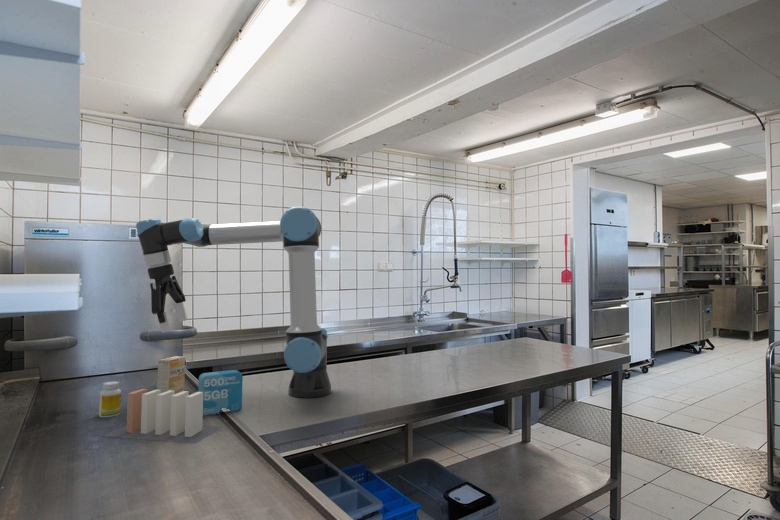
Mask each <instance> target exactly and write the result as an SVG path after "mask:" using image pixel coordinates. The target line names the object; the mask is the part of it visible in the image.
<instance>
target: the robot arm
mask: <svg viewBox="0 0 780 520" xmlns="http://www.w3.org/2000/svg"><path fill="white" fill-rule="evenodd" d="M321 224H322V223H321V221H320V220H319V218H318V216H316V214H315V213H314V212H313V210H312V209H309V208H307V207H305V206H293V207H290V208H288V209H286V211H285V212H284V213H283V214H282V216H281V217H280V220H275V221H273V220H272V221H255V222H253V221H252V222H236V223H235V222H234V223H231V222H230V223H217V224H214V223H213V224H202V222H201V221H200V220H199V219H198V218H195V217H192V218H191V217H190V218H184V219H178V220H173V221H169V222H162V220H161V219H160V218H151V219H150V218H149V219H143V220H139V221H138V222H136V224H135V226H136V227H135V228H136V232H137V237H138V239H139V243H140V247H141V249H142V254H143V260H144V262H145V266H146V267H147V274H148V277H149V279H150V280H154V282H151V283H150V284H149V286H150V295H151V297H150V298H151V300H150V301H151V313H152V315H156V317H157V321H158V323H159V324H158V325H159V327H160V328H159V329H160V331H161V333H168V332H171V331H172V329H171V325H170V322H169V318H168V314H167V311H165V307H166V300H167V299H166V298H167V295H168V296H170V298H171V299H172V300H173V301H174V307H175V310H176V315H177V319H178V323H181V322H183V321H184V322H185V321H188V316H187V312H186V309H185V308H186V307H185V305H184V303H185V302H187V301H186V297H185V295H184V292H183V290H182V288H181V286H180V284H179V283H178V280H177V278H176V275H174V274H175V271H174V267H173V264H172V263H171V262H172V259H171V255H170V251H169V249H168V248H169V247H168V246H172V245H176V244H177V245H178V244H187V245H191V246H195V247H198V248H204V247H208V246H216V245H219V246H220V245H236V244H237V245H239V244H259V243H263V244H264V243H278V242H279V243H280V242H282V243H283V249H284V250H285V251H286V253H287V254H288V279H289V281H288V282H289V283H288V285H289V309H290V310H289V312H290V313H289V314H290V315H289V316H290V326H289V327H288V328H287V329H286V330H285V334H286V335H285V337H286V346H285V347H284V348H285V349H284V351H283V359H284V362H285V364H286V366H287V367H288V369H290V370H291V371H292V372H293V373H292V377H291V380H290V382H289V385H288V395H289V396H292V397H295V398H304V399H305V398H307V399H308V398H310V399H311V398H320V397H323V396H326V395H329V394H331V393H332V383H331V381H330V377H329V374H328V371H327V370H328V369H327V359H328V358H327V356H328V355H327V354H328V350H327V349H328V346H327V345H328V338H329V337H328V336H329V335H328V331H327V329H326V328H322V327H321V326H320V325H318V318H317V314H318V313H317V287H316V286H317V285H316V280H317V279H316V260H315V259H316V258H315V256H316V254H315V253H316V252H317V250H318V249H320V241H319V238H320V236H321V233H322V225H321Z"/></svg>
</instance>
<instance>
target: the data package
mask: <svg viewBox="0 0 780 520" xmlns="http://www.w3.org/2000/svg"><path fill="white" fill-rule="evenodd" d="M243 377H244V375H243V373H242V372H240V371H239V370H237V369H231V370H220V371H212V372H210V371H209V372H203V373H201V374H200V375H199V377H198V386H197V387H198V388H197V389H198V390H197V392H203V415H204V416H209V415H208V414H211V415H217V414H220V413H219V412H220V410H221V409H222V408H226V409H229V410H230V412H236V411H237V412H238V411H240V410H241V409H242V407H243V382H244V381H243ZM216 413H217V414H216Z"/></svg>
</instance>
